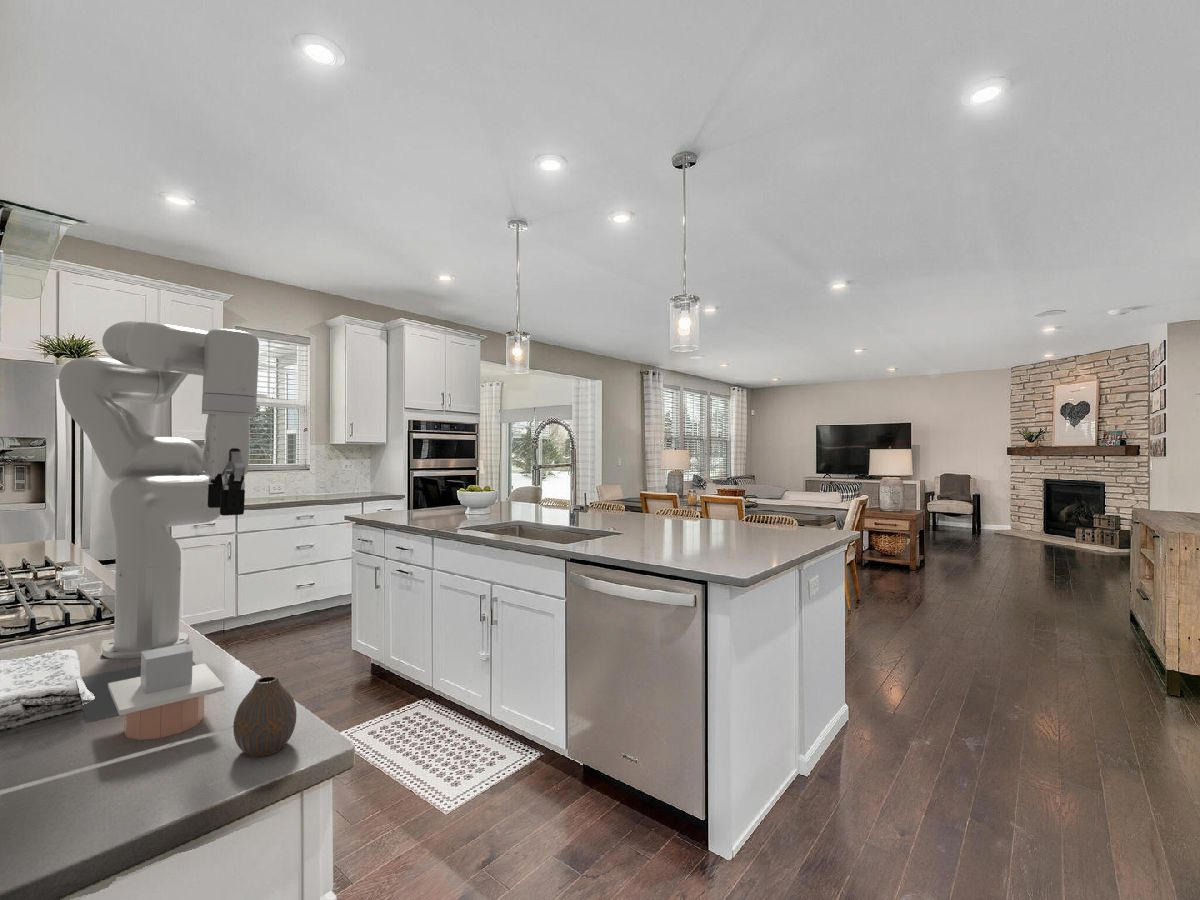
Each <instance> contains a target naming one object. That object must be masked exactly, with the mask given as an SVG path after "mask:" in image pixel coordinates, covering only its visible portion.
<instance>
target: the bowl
mask: <svg viewBox="0 0 1200 900" xmlns="http://www.w3.org/2000/svg"><path fill="white" fill-rule="evenodd" d="M204 717H205V695H203V696H198V697H194V698H190V699H186V700H182V701H177V702H173V703H169V704H165V705H161V706H156V707H152V708H148V709H144V710H140V711H136V712H131V713H127V714H123V719H124V720H123V732H124V735H125V737H126V738H130V739H134V740H140V741H142V740H143V741H144V740H152V739H162V738H166V737H169V736H173V735H177V734H180V733H184V732H185V731H187V730H189V729H191V728H193V727H195V726H197V725H199V723H200V722H201V721H202V720H203V719H204Z"/></svg>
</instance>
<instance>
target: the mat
mask: <svg viewBox="0 0 1200 900" xmlns="http://www.w3.org/2000/svg"><path fill="white" fill-rule="evenodd" d="M194 665H197V664H196V663H195V661H194V660H193V661H192V666H194ZM81 677H82V679H83V681H84V683H85V685H86V687H87V689H88V690H89V691H90V692H92V693H93V694H94V696H95V699H94V700H93V701H91V702H89V703H87V704H84V705H82V704H81V707H82V710H83V711H82V712H83V715H84V719H85V723H86V724H88V723H92V722H96V721H100V720H104V719H109V718H113V717H117V716H118V717H119V716H120V715H119V713H118V711H117V708H116V706H115V704H114V701H113V699H112V696H111V694H110V691H109V689H108V683H112V682H117V681H121V680H126V679H131V678H136V677H141V665H138V666H132V667H129V668H128V667H127V668H123V669H117V670H112V671H105V672H101V673H96V674H91V675H86V676H81ZM215 693H217V692H215Z"/></svg>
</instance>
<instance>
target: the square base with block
mask: <svg viewBox="0 0 1200 900" xmlns="http://www.w3.org/2000/svg"><path fill="white" fill-rule="evenodd" d="M192 649H193V648H191V647H190V646H189V645H188V643H187V644H180V645H175V646H169V647H164V648H158V649H153V650H147V651H142V652H141V657H140V666H141V677H136V678H131V679H126V680H121V681H117V682H112V683H108V689H109V691H110V694H111V696H112V699H113V701H114V704H115V706H116V708H117V711H118V713H119V715H118V716H122V715H123V716H124V714H127V713H131V712H136V711H140V710H144V709H148V708H152V707H156V706H161V705H165V704H169V703H173V702H177V701H182V700H186V699H190V698H194V697H198V696H203V695H204V696H206V695H207V696H208V695H210V694H211V695H212V694H214V693H215V692H216V693H218V692H222V691H225V684H223V682H222V681H221V680H220V679H219V678H218V677H217V675H216V674H215V673H214V672H213V671H212V670H211V669H210V667H209V666H208V665H207V664H206V663H205V662H204V663H199V664H196V665H194V666H192V661H193V662H194V658H193V654H194V652H193V650H192Z"/></svg>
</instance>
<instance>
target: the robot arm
mask: <svg viewBox="0 0 1200 900" xmlns="http://www.w3.org/2000/svg"><path fill="white" fill-rule="evenodd" d="M101 339H102V341H101V342H102V347H103V348H104V349H103V350H104V351H105V352H106V353H107V354H108V355H109V356H110V357H111V358H106V357H96V356H95V357H94V356H93V357H89V356H88V357H80V358H75V359H73V360H72V359H71V360H70V361H67V362H66V363H65V364H64V365H63V366H62V367H61V369H60V371H59V375H58V387H59V393H60V398H61V401H62V403H63V405H64V407H65V409H66V410H67V412H68V414H69V416H70V417H71V418H72V420H74V422H75V423H76V424H77V425H78V426H79V427H80V429H81V430H82V431H83V432H84V434H85V435H86V436H87V438H88V440H89V443H90V444H91V446H92V449H93V451H94V453H95V455H96V457H97V458H98V461H99V463H100V465H101V468H102V470H103V471H104V473H105V475H106V477H107V478H108V479H109V480H110V481H111V482H113V483H115V484H116V485H115V486H114V487H113V489H112V490H111V493H110V497H109V505H110V511H111V516H112V522H113V528H114V537H115V539H114V540H115V584H114V585H115V587H114V590H115V591H114V626H113V629H114V631H113V640H112V641H110V642H108V643H107V644H105V645H103V647H102V649H101V654H102V656H103V657H105V658H108V659H136V658H137V659H138V658H141V652H142V651H147V650H153V649H158V648H164V647H169V646H175V645H180V644H187V645H188V643H189V642H190V638H189V637H190V635H189V634H187V632H183V631H180V612H181V611H180V607H181V606H180V605H181V577H182V576H181V573H182V572H181V569H182V567H181V565H182V553H181V547H180V545H179V543H178V542H177V540H176V539H175V538H174V537H173V536H172V535H171V534H170V532H169V531H168V530H167V528H169V527H176V526H187V525H196V524H197V525H198V524H205V523H210V522H212V521H215V520H217V518H219V517H221V516H241V515H244V514H245V502H246V501H245V497H246V495H245V494H246V489H245V488H246V483H245V476H247V473H248V471H249V460H250V458H249V457H250V429H251V428H250V417H253V418H256V417H257V400H258V399H257V398H258V397H257V396H258V378H259V377H258V375H259V354H260V342H259V338H257V336H256V335H255V334H253V333H251V332H246V331H242V330H238V329H237V330H236V329H228V328H213V329H211V330H208V331H207V330H201V329H197V328H196V329H195V328H191V327H184V326H178V325H172V324H165V323H157V322H148V321H147V322H146V321H133V320H130V321H129V320H128V321H126V320H125V321H120V322H116V323H115V324H112V325H110V326H109V327H108V328H107V329H105V331H104V333H103V335H102V338H101ZM188 375H195V376H202V396H201V397H202V399H201V414H202V415H207V418H206V425H205V431H204V443H203V450H202V448H201V447H200V446H199V445H198V444H197V443H196V442H194V441H193V440H191V439H188V438H185V437H177V436H176V437H174V436H157V435H155V436H154V435H151V434H148V433H147V432H146V430H145V429H144V427H143V424H142V422H141V421H140V420H139V419H138V418H137V417H136V416H135V415H134V413H132V412H130V411H129V410H128V409H126V408H125V407H122V406H121V405H119V404H118V403H124V404H125V403H128V404H141V405H142V404H143V405H159V404H164V403H165V402H167V401H168V400H170V399H171V398H172V396H174V394H175V393H176V391H177V389H178V388H179V387H180V386H181V385H182V383H183V381H184V380H185V379H186V378H187V376H188Z"/></svg>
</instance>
